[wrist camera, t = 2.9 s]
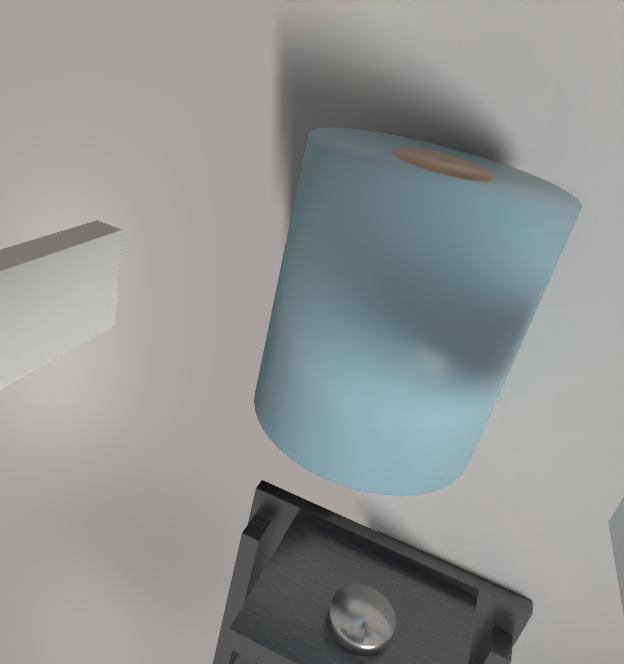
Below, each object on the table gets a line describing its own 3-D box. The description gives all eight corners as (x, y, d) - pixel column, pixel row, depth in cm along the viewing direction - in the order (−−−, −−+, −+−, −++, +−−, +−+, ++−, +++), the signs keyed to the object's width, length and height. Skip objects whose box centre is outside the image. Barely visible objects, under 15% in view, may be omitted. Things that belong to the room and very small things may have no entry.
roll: (364, 118, 19) (258, 131, 13) (585, 183, 17) (580, 233, 11) (310, 337, 23) (209, 424, 17) (486, 410, 21) (442, 539, 15)
